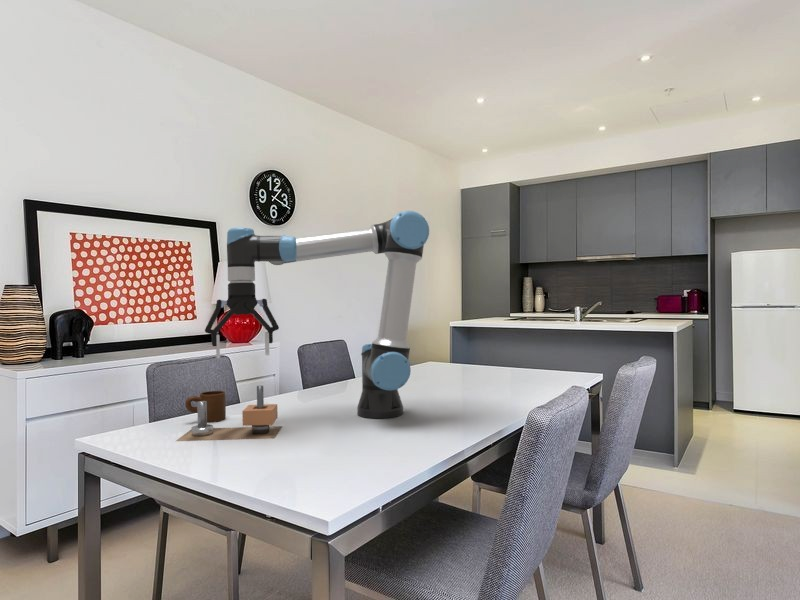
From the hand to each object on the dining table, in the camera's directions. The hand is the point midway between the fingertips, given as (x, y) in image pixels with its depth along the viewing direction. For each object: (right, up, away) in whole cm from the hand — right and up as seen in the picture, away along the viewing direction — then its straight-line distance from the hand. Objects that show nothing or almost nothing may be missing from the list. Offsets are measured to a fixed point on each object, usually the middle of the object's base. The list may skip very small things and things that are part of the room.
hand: (243, 356), depth 149 cm
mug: (-15, -22, +11) cm, 29 cm away
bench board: (-2, -22, -4) cm, 22 cm away
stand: (+6, -21, -4) cm, 22 cm away
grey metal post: (-10, -21, -5) cm, 24 cm away
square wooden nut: (+6, -18, -4) cm, 19 cm away
